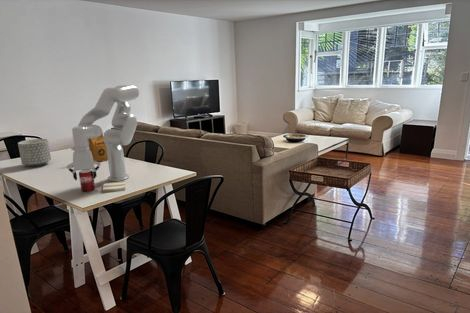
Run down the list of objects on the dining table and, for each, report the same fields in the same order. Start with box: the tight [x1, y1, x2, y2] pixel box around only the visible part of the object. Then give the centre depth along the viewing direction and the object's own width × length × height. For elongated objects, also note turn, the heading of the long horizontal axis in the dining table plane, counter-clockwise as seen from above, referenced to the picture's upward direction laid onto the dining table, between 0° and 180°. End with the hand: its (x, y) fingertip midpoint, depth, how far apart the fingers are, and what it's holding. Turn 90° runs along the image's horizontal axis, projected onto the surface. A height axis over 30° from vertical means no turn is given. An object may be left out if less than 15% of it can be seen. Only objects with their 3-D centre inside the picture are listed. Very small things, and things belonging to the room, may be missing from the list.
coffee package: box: [88, 131, 108, 163], centre depth 250 cm, size 10×12×22 cm
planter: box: [17, 138, 52, 168], centre depth 243 cm, size 19×19×18 cm
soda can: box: [78, 169, 96, 194], centre depth 186 cm, size 7×7×12 cm
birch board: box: [102, 180, 126, 194], centre depth 191 cm, size 12×12×2 cm
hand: (85, 178), depth 184 cm, fingers open, 9 cm apart
